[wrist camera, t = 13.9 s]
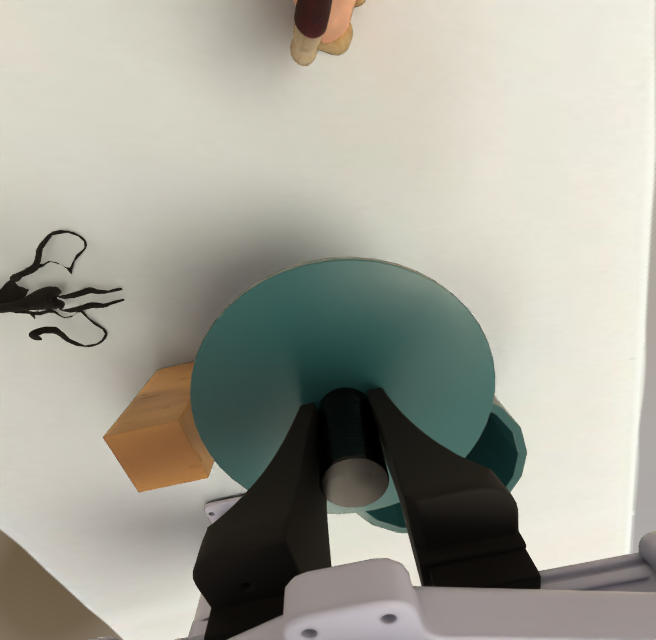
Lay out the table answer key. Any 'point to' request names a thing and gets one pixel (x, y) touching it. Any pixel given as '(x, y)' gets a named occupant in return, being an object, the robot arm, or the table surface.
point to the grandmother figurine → (321, 28)
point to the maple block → (160, 433)
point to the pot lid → (340, 372)
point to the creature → (47, 296)
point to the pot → (489, 451)
